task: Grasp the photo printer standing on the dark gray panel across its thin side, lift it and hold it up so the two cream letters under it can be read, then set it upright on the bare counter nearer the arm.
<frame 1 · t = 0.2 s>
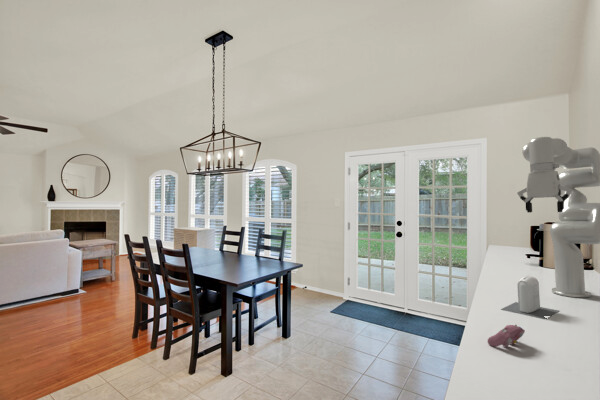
hand: (544, 212, 119), 36 cm above the counter, tool pointing down, fingers open, 9 cm apart
photo printer: (529, 310, 114), resting on dark gray panel
dark gray panel: (529, 310, 114), on the counter
video game controller: (507, 345, 86), on the counter
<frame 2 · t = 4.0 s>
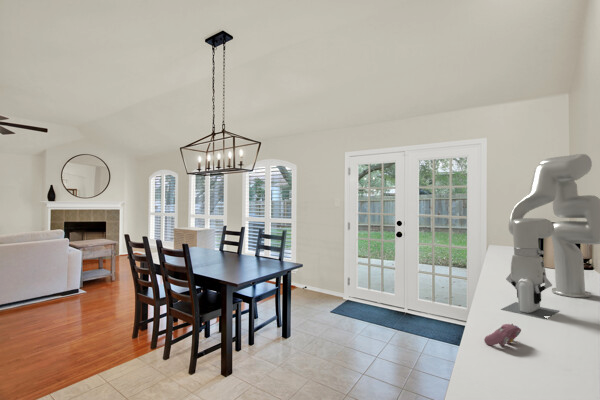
hand: (529, 301, 114), 3 cm above the counter, tool pointing down, fingers closed on photo printer, 4 cm apart
photo printer: (529, 310, 114), resting on dark gray panel, touching gripper
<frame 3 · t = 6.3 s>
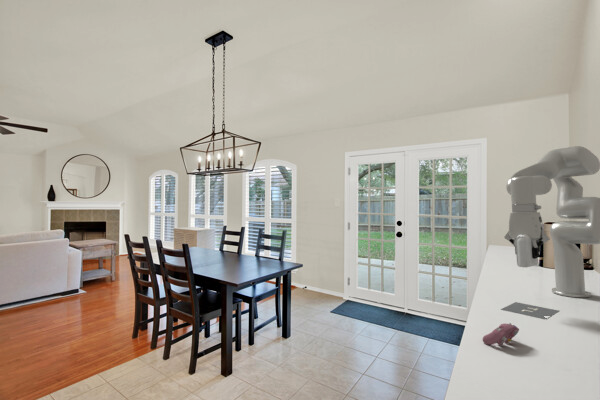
hand: (527, 256, 115), 20 cm above the counter, tool pointing down, fingers closed on photo printer, 4 cm apart
photo printer: (527, 266, 114), point 16 cm above the counter, touching gripper
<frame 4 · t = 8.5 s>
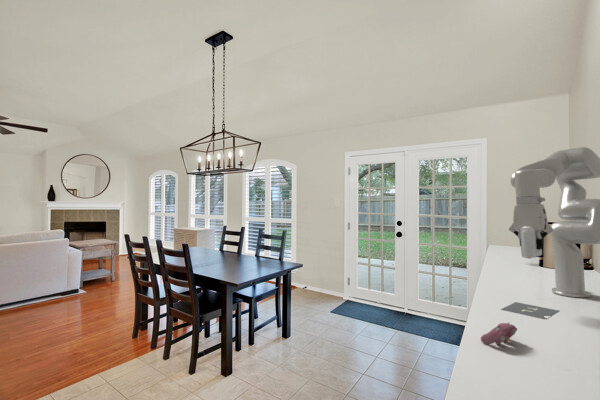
hand: (531, 248, 117), 23 cm above the counter, tool pointing down, fingers closed on photo printer, 4 cm apart
photo printer: (532, 257, 117), point 19 cm above the counter, touching gripper
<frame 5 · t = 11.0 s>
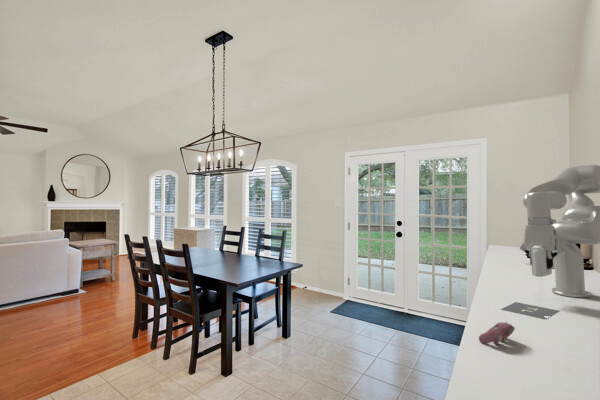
hand: (541, 267, 123), 14 cm above the counter, tool pointing down, fingers closed on photo printer, 4 cm apart
photo printer: (542, 275, 122), point 11 cm above the counter, touching gripper
when the fingers open (4 cm above the counter, at t = 13.1 s): photo printer drops 1 cm, on the counter.
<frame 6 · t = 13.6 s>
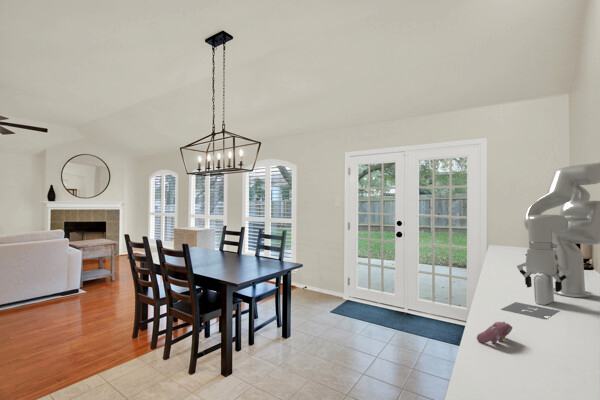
hand: (543, 289, 122), 5 cm above the counter, tool pointing down, fingers open, 9 cm apart
photo printer: (544, 302, 122), on the counter
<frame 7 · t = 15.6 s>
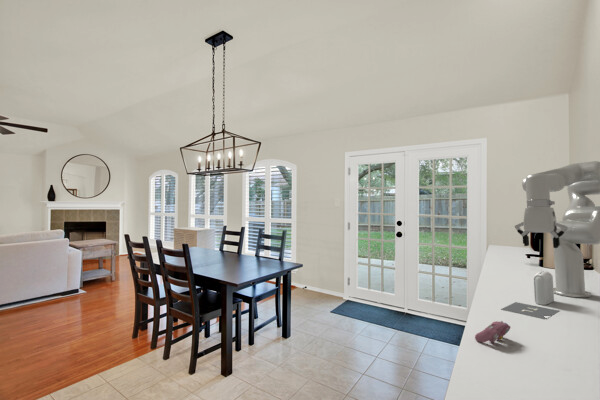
hand: (540, 246, 123), 22 cm above the counter, tool pointing down, fingers open, 9 cm apart
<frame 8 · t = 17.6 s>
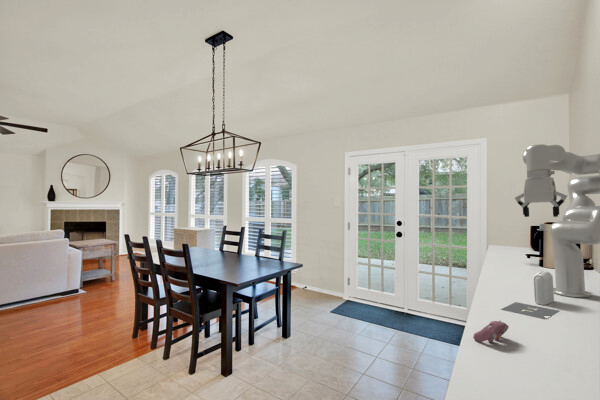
hand: (540, 216, 125), 34 cm above the counter, tool pointing down, fingers open, 9 cm apart
at the end: photo printer inside the target area (0.3 cm from its centre), on the counter; photo printer tilted 0°; photo printer touching counter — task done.
